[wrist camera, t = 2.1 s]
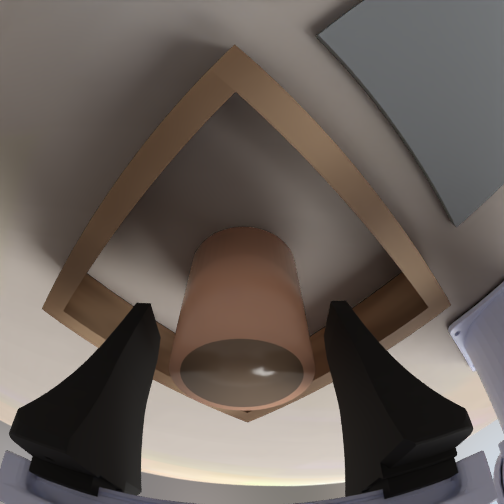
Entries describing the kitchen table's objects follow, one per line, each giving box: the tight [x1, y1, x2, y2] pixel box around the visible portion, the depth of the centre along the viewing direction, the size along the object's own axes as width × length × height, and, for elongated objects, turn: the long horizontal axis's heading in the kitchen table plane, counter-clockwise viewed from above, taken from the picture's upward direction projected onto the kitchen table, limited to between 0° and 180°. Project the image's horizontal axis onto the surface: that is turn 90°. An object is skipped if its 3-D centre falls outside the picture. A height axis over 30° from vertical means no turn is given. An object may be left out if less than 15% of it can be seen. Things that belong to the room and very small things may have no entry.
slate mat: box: [316, 0, 504, 228], centre depth 9 cm, size 11×10×1 cm
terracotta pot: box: [169, 227, 315, 411], centre depth 13 cm, size 5×5×6 cm
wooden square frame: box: [42, 45, 451, 422], centre depth 14 cm, size 14×14×3 cm
